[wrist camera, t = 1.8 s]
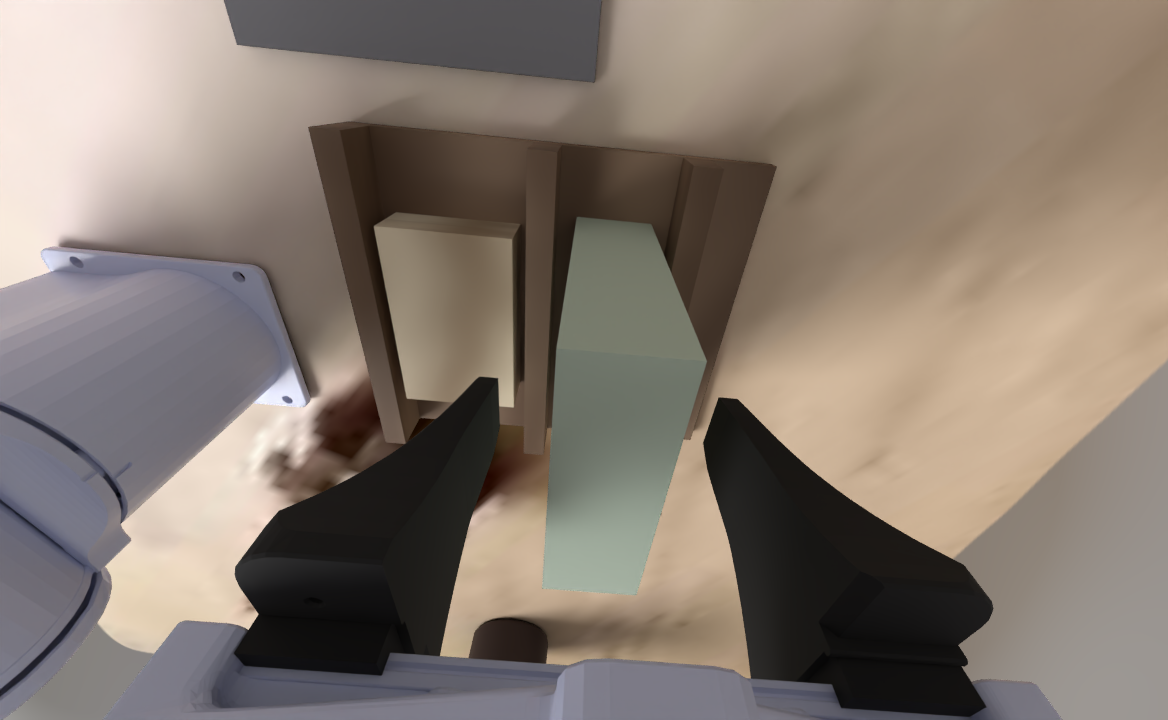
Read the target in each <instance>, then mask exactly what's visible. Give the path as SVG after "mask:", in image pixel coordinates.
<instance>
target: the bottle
mask: <svg viewBox="0 0 1168 720" xmlns="http://www.w3.org/2000/svg"><path fill="white" fill-rule="evenodd" d="M547 648H548V641H547V637H546V635H545V633H544V632H543V631H542V630H541V629H540V628H538V627H536V626H535V625H533V624H530V623H527V622H524V621H519V620H513V619H499V620H494V621H489V622H487V623H485V624H482V625H481V626H480V627H479V628H478V629H477V630H476V631H475V633H474V637H473V641H472V646H471V650H470V654H469V658H471V659H485V660H499V661H513V662H527V663H541V664H546V659H547Z"/></svg>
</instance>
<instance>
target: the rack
mask: <svg viewBox="0 0 1168 720" xmlns="http://www.w3.org/2000/svg"><path fill="white" fill-rule="evenodd" d="M308 128H309V132H310V136H311V140H312V144H313V149H314V153H315V157H316V161H317V165H318V169H319V173H320V177H321V181H322V185H323V189H324V193H325V197H326V201H327V205H328V209H329V213H330V217H331V222H332V226H333V230H334V234H335V238H336V242H337V246H338V250H339V254H340V258H341V262H342V266H343V270H344V274H345V278H346V282H347V286H348V291H349V295H350V299H351V303H352V307H353V311H354V315H355V319H356V323H357V327H358V331H359V335H360V339H361V343H362V347H363V351H364V355H365V359H366V364H367V368H368V372H369V376H370V380H371V384H372V388H373V392H374V396H375V400H376V404H377V408H378V412H379V416H380V420H381V424H382V428H383V433H384V437H385V441H386V442H389V443H402V444H406V442H407V441H408V439H409V437H410V435H411V433H412V431H413V429H414V428H415V426H416V424H417V422H418V420H419V418H431V419H436V418H438V417H439V416H440V415H441V414H442V413H443V412H444V411H445V410H446V409H447V408H448V407H449V406H450V405H451V404H452V403H453V402H442V401H430V400H418V399H407V397H406V392H405V387H404V381H403V376H402V371H401V366H400V361H399V355H398V350H397V345H396V340H395V334H394V329H393V324H392V319H391V314H390V308H389V303H388V298H387V293H386V288H385V282H384V277H383V272H382V267H381V262H380V256H379V251H378V246H377V241H376V236H375V230H374V226H375V225H376V224H378V223H379V222H381V221H383V220H384V219H386V218H388V217H389V216H391V215H392V214H394V213H396V212H399V213H409V214H420V215H430V216H441V217H451V218H462V219H472V220H483V221H493V222H504V223H514V224H521V255H520V385H519V389H518V393H517V397H516V400H515V404H514V408H513V407H501V406H499V414H500V424H504V425H516V426H524V453H526V454H538V455H543V454H544V447H545V440H546V433H547V428H552V415H553V398H554V381H555V364H556V348H557V341H558V335H559V329H560V322H561V316H562V309H563V303H564V296H565V290H566V284H567V277H568V271H569V264H570V258H571V251H572V245H573V238H574V232H575V226H576V219H577V217H584V218H594V219H605V220H615V221H626V222H636V223H646V224H651V225H652V227H653V230H654V232H655V234H656V237H657V239H658V242H659V244H660V247H661V249H662V252H663V254H664V257H665V259H666V262H667V264H668V266H669V269H670V271H671V274H672V276H673V279H674V281H675V284H676V286H677V289H678V291H679V294H680V296H681V299H682V301H683V303H684V306H685V308H686V311H687V313H688V316H689V318H690V321H691V323H692V326H693V328H694V331H695V333H696V335H697V338H698V340H699V343H700V345H701V348H702V350H703V353H704V355H705V358H706V360H707V363H706V366H705V370H704V373H703V376H702V380H701V383H700V386H699V389H698V393H697V396H696V399H695V403H694V406H693V409H692V413H691V416H690V419H689V422H688V426H687V429H686V432H685V436H684V439H686V440H690V439H691V436H692V433H693V430H694V427H695V423H696V420H697V417H698V414H699V411H700V408H701V405H702V401H703V398H704V395H705V392H706V389H707V386H708V382H709V379H710V376H711V373H712V370H713V367H714V363H715V360H716V357H717V354H718V351H719V348H720V344H721V341H722V338H723V335H724V332H725V329H726V325H727V322H728V319H729V316H730V313H731V310H732V306H733V303H734V300H735V297H736V294H737V291H738V287H739V284H740V281H741V278H742V275H743V272H744V268H745V265H746V262H747V259H748V256H749V253H750V249H751V246H752V243H753V240H754V237H755V234H756V230H757V227H758V224H759V221H760V218H761V215H762V211H763V208H764V205H765V202H766V199H767V196H768V193H769V189H770V186H771V183H772V180H773V177H774V174H775V170H776V166H774V165H772V164H764V163H754V162H744V161H734V160H724V159H714V158H704V157H694V156H685V155H675V154H665V153H655V152H645V151H635V150H625V149H615V148H605V147H595V146H585V145H575V144H566V143H556V142H546V141H536V140H526V139H516V138H506V137H496V136H486V135H476V134H466V133H456V132H447V131H437V130H427V129H417V128H407V127H397V126H387V125H377V124H367V123H357V122H343V123H335V124H327V125H320V126H312V127H308Z"/></svg>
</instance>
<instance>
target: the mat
mask: <svg viewBox="0 0 1168 720" xmlns="http://www.w3.org/2000/svg"><path fill="white" fill-rule="evenodd" d="M224 3H225V6H226V9H227V13H228V16H229V19H230V23H231V26H232V29H233V32H234V36H235V39H236V42H237V45H243V46H252V47H262V48H271V49H281V50H290V51H300V52H309V53H319V54H328V55H338V56H347V57H357V58H366V59H376V60H386V61H395V62H405V63H414V64H424V65H433V66H443V67H452V68H462V69H471V70H481V71H490V72H500V73H509V74H519V75H528V76H538V77H547V78H557V79H566V80H576V81H586V82H595V70H596V59H597V47H598V35H599V23H600V11H601V0H224Z"/></svg>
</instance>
